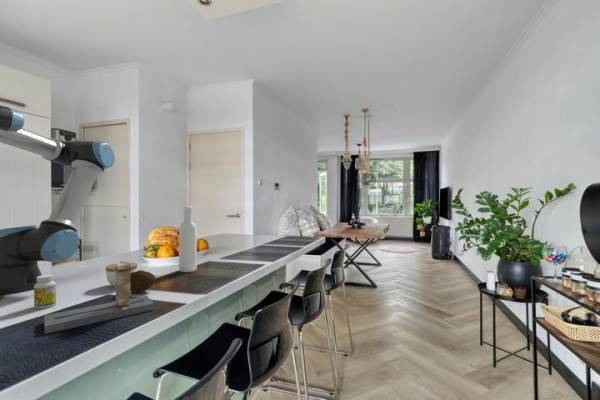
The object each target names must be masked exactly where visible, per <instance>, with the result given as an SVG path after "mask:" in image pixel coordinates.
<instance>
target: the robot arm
mask: <svg viewBox="0 0 600 400" xmlns="http://www.w3.org/2000/svg"><path fill="white" fill-rule="evenodd" d="M24 125H25V117H24V115H23V114H22V112H21V111H19V110H17V109H15V108H12V107H10V106H6V105H5V106H4V105H0V143H1V144H5V145H6V146H7V145H8V146H12V147H14V148H17V149H20V150H23V151H26V152H29V153H32V154H36V155H39V156H41V158H43V159H44V160H47V161H49V162H52V163H56V164H59V165H62V166H66V167H71V168H73V169H72V171H71V173H70V175H69V177H68V179H67V181H66V183H65V185H64V187H63V190H62V191H61V193H60V195H59V197H58V199H57V201H56V203H55V205H54V207H53V209H52V211H51V213H50V215H49V217H48V218H47V219H44V220H42V221H41V222H40V224H39V225H38V226H37V225H35V224H34V225H26V226H17V227H9V228H1V229H0V295H4V294H14V293H19V292H20V293H22V292H25V291H29V290H34V285H35V284H36V283H38V282H37V277H38V276H42V275H43V274H42V272H41V269H40V268H39V265H38V263H39V262H47V263H48V262H49V263H53V262H61V261H62V262H63V261H66V260H68V259H69V258H71V257H72V256H74V255H75V254H76V252H77V251H78V248H79V246H80V236H79V234H78V228H77V227H76V224H77V221H78V219H79V217H80V215H81V212H82V210H83V208H84V206H85V203H86V201H87V199H88V197H89V195H90V192H91V190H92V188H93V187H94V183H95V182H96V179H97V178H98V177H101V176H102V175H103V173H104V171H105V169H109V168H112V167H113V166H114V164H115V161H116V160H115V159H116V157H115V156H116V155H115V152H114V150H113V148H112V146H111V145H110V144H109V143H108V142H106V141H101V140H93V141H92V140H91V141H89V140H87V141H86V140H84V141H83V140H79V141H78V140H77V141H76V140H73V141H71V140H61V139H58V138H55V137H51V138H48V137H46V136H44V135H40V134H37V133H35V132H33V131H31V130H28V129H25V128H24Z"/></svg>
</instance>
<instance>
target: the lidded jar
mask: <svg viewBox="0 0 600 400" xmlns="http://www.w3.org/2000/svg"><path fill="white" fill-rule="evenodd" d="M121 262H124V260H121V261H119V263H121ZM128 263H129V264H130V268H131V271H130V273H132V272H136V271H138V263H135V262H128ZM115 267H116V263H113V264H110V265H109V264H108V265H107V266H105V278H106V280H107V282H108V284H110V285H111V286H112V287H113V288H116V270H115Z"/></svg>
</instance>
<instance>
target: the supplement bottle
mask: <svg viewBox="0 0 600 400" xmlns="http://www.w3.org/2000/svg"><path fill="white" fill-rule="evenodd" d="M37 282H38V283H36V284H35V285H34V289H33V298H34V299H33V303H34V304H33V305H34V306H33V307H34V309H37V310H39V309H40V310H43V309H47V308H48V309H49V308H51V307H54V306H55V305H56V304H57V283H56V281H54V275H53V274H42V276H38V277H37Z"/></svg>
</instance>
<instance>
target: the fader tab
mask: <svg viewBox="0 0 600 400" xmlns="http://www.w3.org/2000/svg"><path fill="white" fill-rule="evenodd" d="M129 263H130V262H128V261H123V262H121V263H120V262H116V263H115V264H116V267H115V270H116V287H115V302H116V303H117V305H118V306H119V307H120V306H124V305H129V304H130V299H131V291H130V271H131V268H130V264H129Z"/></svg>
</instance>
